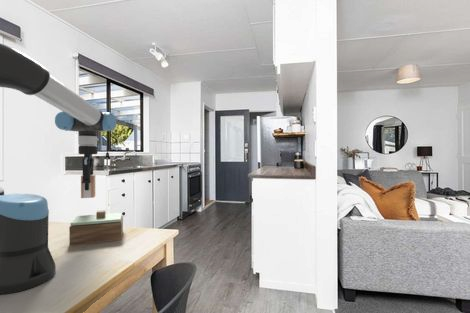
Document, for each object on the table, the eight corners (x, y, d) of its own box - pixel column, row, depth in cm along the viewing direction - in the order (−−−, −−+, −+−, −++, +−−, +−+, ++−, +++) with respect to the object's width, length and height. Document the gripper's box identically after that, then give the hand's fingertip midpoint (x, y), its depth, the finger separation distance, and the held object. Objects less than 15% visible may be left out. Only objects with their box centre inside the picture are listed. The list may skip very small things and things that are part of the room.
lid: (120, 221, 103) (120, 213, 103) (70, 225, 97) (70, 216, 97) (122, 215, 114) (122, 207, 114) (77, 218, 107) (77, 210, 107)
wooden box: (121, 239, 103) (121, 222, 103) (69, 245, 96) (69, 226, 96) (122, 230, 114) (122, 215, 114) (76, 235, 108) (76, 218, 107)
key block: (93, 197, 116) (93, 175, 115) (81, 198, 114) (80, 175, 113) (95, 195, 120) (95, 174, 120) (83, 196, 118) (83, 174, 118)
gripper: (94, 145, 109) (94, 199, 110) (99, 146, 126) (100, 192, 127) (74, 145, 107) (74, 200, 107) (82, 145, 123) (82, 193, 124)
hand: (88, 196), depth 117 cm, fingers closed on key block, 5 cm apart
